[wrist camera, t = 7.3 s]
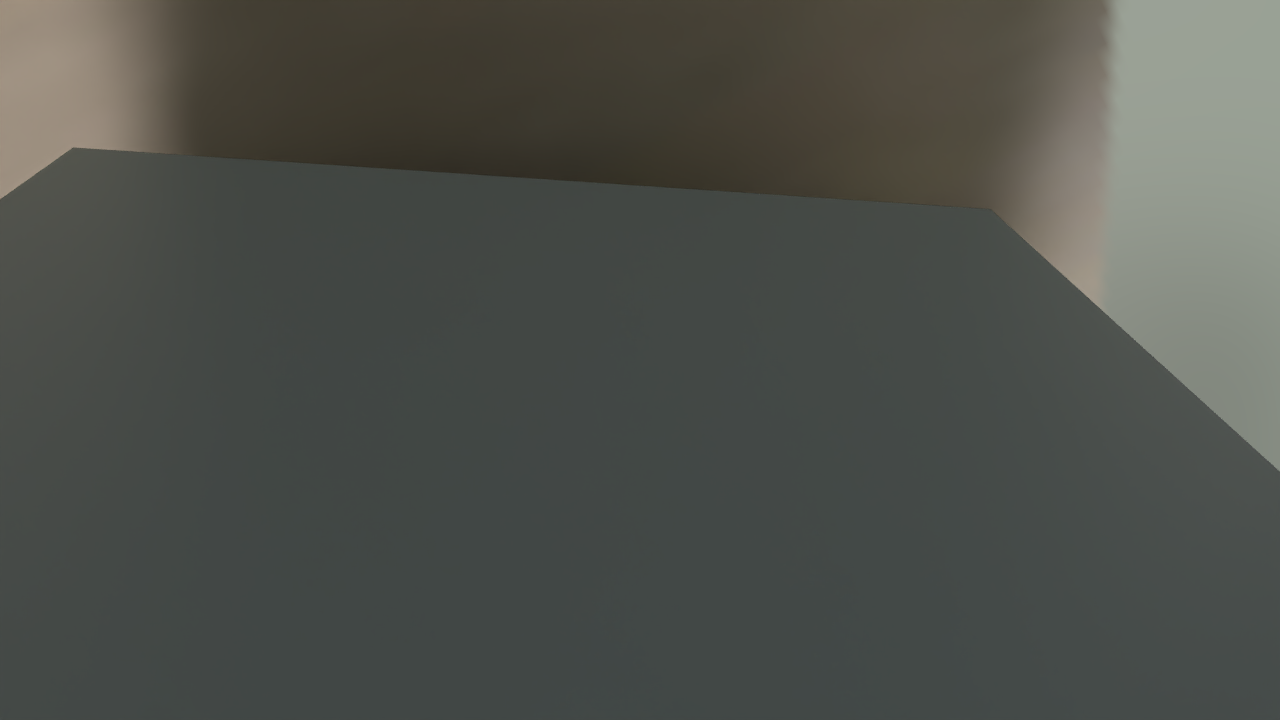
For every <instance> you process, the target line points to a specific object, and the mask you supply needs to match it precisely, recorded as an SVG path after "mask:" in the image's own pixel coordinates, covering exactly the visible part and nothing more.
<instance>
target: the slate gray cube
mask: <svg viewBox="0 0 1280 720" xmlns="http://www.w3.org/2000/svg"><path fill="white" fill-rule="evenodd" d="M0 720H1280V471H1278V470H1277V469H1276V468H1275V467H1274V466H1273V465H1272V464H1271V463H1270V462H1269V461H1267V460H1266V459H1265V458H1264V457H1263V456H1262V455H1261V454H1260V453H1258V452H1257V451H1256V450H1255V449H1254V448H1253V447H1252V446H1251V445H1250V444H1249V443H1248V442H1246V441H1245V440H1244V439H1243V438H1242V437H1241V436H1240V435H1239V434H1238V433H1237V432H1235V431H1234V430H1233V429H1232V428H1231V427H1230V426H1229V425H1228V424H1227V423H1225V422H1224V421H1223V420H1222V419H1221V418H1220V417H1219V416H1218V415H1217V414H1216V413H1214V412H1213V411H1212V410H1211V409H1210V408H1209V407H1208V406H1207V405H1206V404H1205V403H1203V402H1202V401H1201V400H1200V399H1199V398H1198V397H1197V396H1196V395H1195V394H1194V393H1192V392H1191V391H1190V390H1189V389H1188V388H1187V387H1186V386H1185V385H1184V384H1183V383H1181V382H1180V381H1179V380H1178V379H1177V378H1176V377H1175V376H1174V375H1173V374H1171V373H1170V372H1169V371H1168V370H1167V369H1166V368H1165V367H1164V366H1163V365H1162V364H1160V363H1159V362H1158V361H1157V360H1156V359H1155V358H1154V357H1152V355H1151V354H1149V353H1148V352H1147V351H1146V350H1145V349H1144V348H1143V347H1142V346H1140V344H1138V343H1137V342H1136V341H1135V340H1134V339H1133V338H1132V337H1131V336H1130V335H1128V334H1127V333H1126V332H1125V331H1124V330H1123V329H1122V328H1121V327H1120V326H1118V325H1117V324H1116V323H1115V322H1114V321H1113V320H1112V319H1111V318H1110V317H1109V316H1108V315H1106V314H1105V313H1104V312H1103V311H1102V310H1101V309H1100V308H1099V307H1098V306H1096V305H1095V304H1094V303H1093V302H1092V301H1091V300H1090V299H1089V298H1088V297H1087V296H1085V295H1084V294H1083V293H1082V292H1081V291H1080V290H1079V289H1078V288H1077V287H1076V286H1074V285H1073V284H1072V283H1071V282H1070V281H1069V280H1068V279H1067V278H1066V277H1065V276H1063V275H1062V274H1061V273H1060V272H1059V271H1058V270H1057V269H1056V268H1055V267H1053V266H1052V265H1051V264H1050V263H1049V262H1048V261H1047V260H1046V259H1045V258H1044V257H1042V256H1041V255H1040V254H1039V253H1038V252H1037V251H1036V250H1035V249H1034V248H1033V247H1031V246H1030V245H1029V244H1028V243H1027V242H1026V241H1025V240H1024V239H1023V238H1022V237H1020V236H1019V235H1018V234H1017V233H1016V232H1015V231H1014V230H1013V229H1012V228H1010V227H1009V226H1008V225H1007V224H1006V223H1005V222H1004V221H1003V220H1002V219H1001V218H999V217H998V216H997V215H996V214H995V213H994V212H993V211H992V210H991V209H980V208H965V207H950V206H935V205H920V204H905V203H891V202H876V201H861V200H846V199H831V198H816V197H801V196H786V195H771V194H756V193H742V192H727V191H712V190H697V189H682V188H667V187H652V186H637V185H622V184H607V183H593V182H578V181H563V180H548V179H533V178H518V177H503V176H488V175H473V174H458V173H444V172H429V171H414V170H399V169H384V168H369V167H354V166H339V165H324V164H309V163H295V162H280V161H265V160H250V159H235V158H220V157H205V156H190V155H175V154H161V153H146V152H131V151H116V150H101V149H86V148H72V149H71V150H69V151H68V152H66V153H65V154H64V155H62V156H61V157H59V158H58V159H56V160H55V161H54V162H52V163H51V164H49V165H48V166H47V167H45V168H44V169H42V170H41V171H40V172H38V173H37V174H35V175H34V176H33V177H31V178H30V179H28V180H27V181H25V182H24V183H23V184H21V185H20V186H18V187H17V188H16V189H14V190H13V191H11V192H10V193H9V194H7V195H6V196H4V197H3V198H2V199H0Z"/></svg>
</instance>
